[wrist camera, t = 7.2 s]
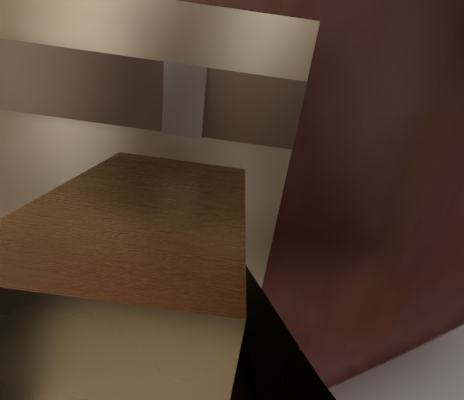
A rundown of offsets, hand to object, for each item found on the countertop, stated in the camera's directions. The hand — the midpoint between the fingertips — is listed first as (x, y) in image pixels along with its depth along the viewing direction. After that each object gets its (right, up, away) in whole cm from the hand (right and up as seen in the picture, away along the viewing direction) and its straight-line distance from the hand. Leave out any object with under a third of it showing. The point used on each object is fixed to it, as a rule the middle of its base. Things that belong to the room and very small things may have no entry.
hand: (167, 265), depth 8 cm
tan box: (0, -1, +2) cm, 2 cm away
